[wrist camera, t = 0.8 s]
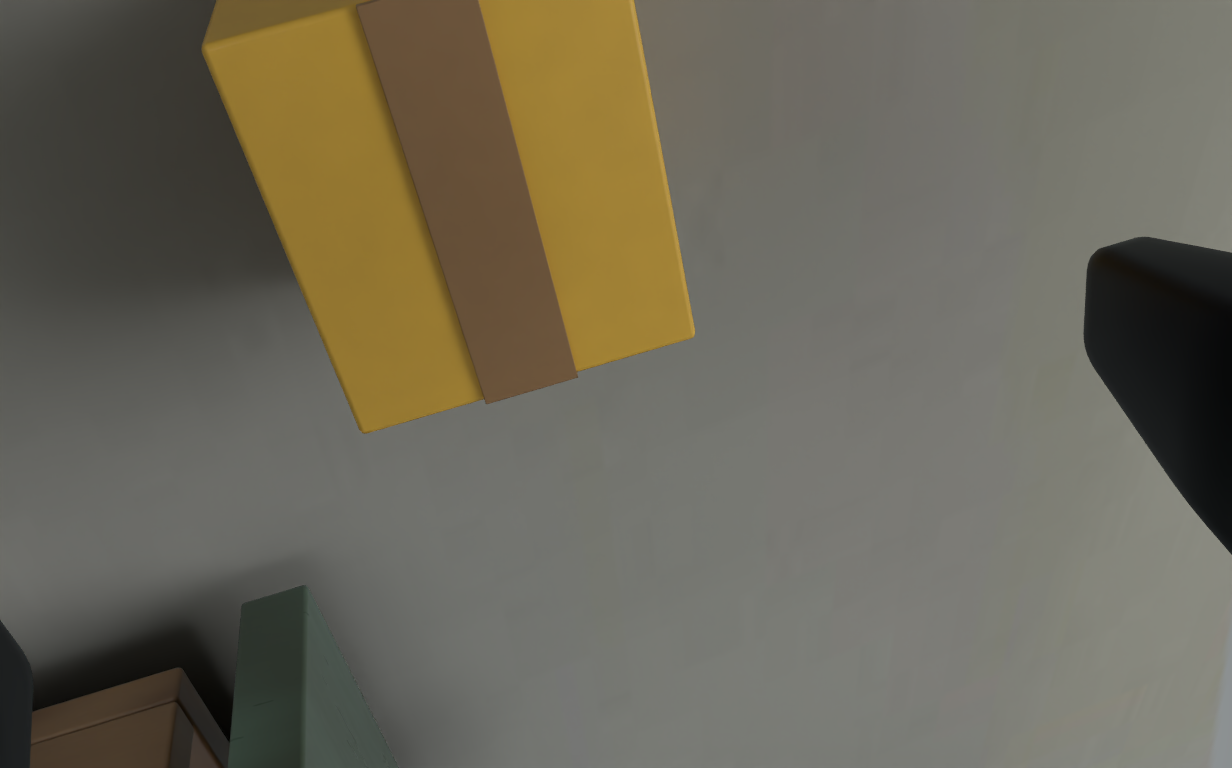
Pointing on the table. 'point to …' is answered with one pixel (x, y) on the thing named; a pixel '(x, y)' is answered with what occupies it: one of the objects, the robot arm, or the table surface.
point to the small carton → (458, 188)
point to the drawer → (262, 707)
